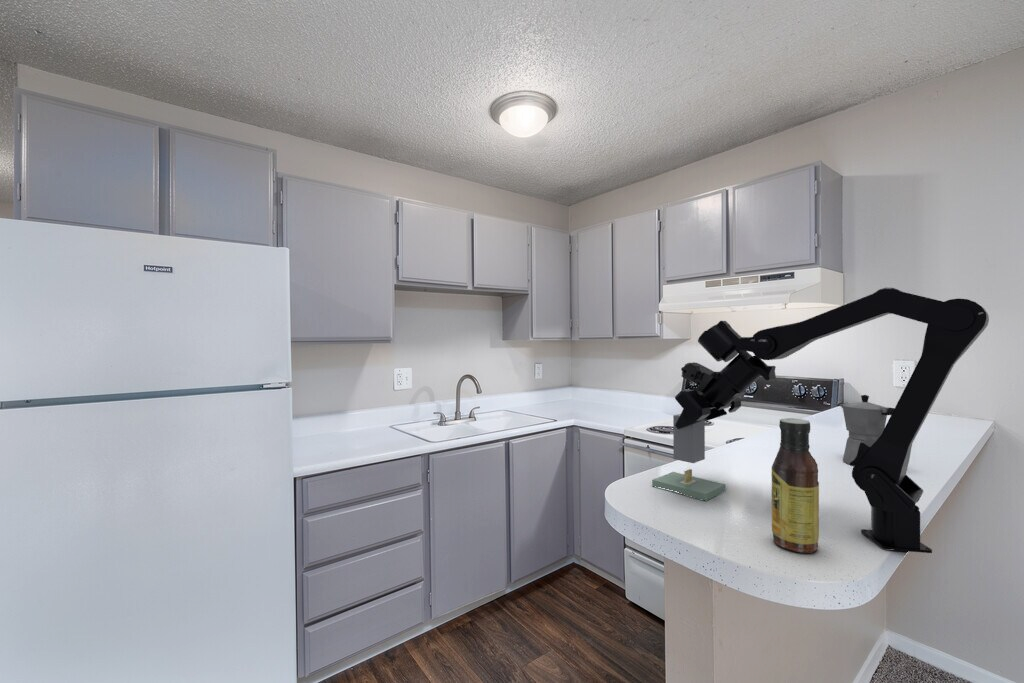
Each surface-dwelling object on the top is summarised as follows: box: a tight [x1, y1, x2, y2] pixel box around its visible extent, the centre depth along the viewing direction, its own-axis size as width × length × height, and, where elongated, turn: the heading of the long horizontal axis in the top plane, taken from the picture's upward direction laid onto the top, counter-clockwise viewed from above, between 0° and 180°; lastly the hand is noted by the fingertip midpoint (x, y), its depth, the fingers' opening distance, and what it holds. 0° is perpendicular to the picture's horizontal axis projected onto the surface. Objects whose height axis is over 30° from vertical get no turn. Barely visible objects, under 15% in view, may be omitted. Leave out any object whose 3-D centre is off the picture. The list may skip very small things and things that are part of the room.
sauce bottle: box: [771, 417, 820, 554], centre depth 69 cm, size 6×6×20 cm
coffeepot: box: [839, 394, 895, 467], centre depth 113 cm, size 15×9×18 cm, turn 14°
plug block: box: [672, 413, 706, 464], centre depth 96 cm, size 4×5×10 cm
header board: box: [651, 468, 727, 502], centre depth 96 cm, size 12×9×4 cm
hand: (683, 425), depth 97 cm, fingers closed on plug block, 5 cm apart
